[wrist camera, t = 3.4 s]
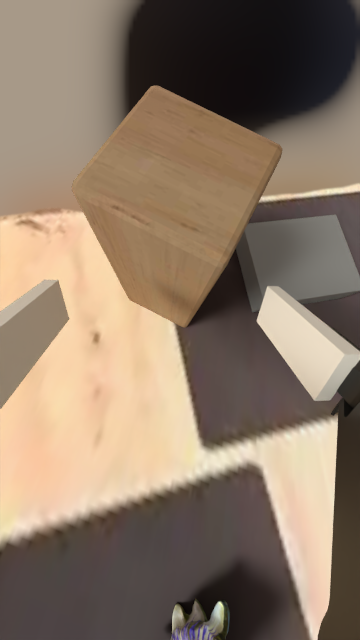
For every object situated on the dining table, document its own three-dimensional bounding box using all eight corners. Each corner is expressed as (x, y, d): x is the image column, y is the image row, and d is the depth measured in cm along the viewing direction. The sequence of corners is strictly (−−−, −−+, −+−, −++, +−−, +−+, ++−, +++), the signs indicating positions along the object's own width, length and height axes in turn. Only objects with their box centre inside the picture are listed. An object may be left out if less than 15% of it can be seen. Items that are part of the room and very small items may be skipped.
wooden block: (158, 248, 33) (152, 78, 13) (212, 275, 32) (288, 144, 13) (127, 299, 30) (64, 184, 11) (185, 329, 30) (227, 266, 11)
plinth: (317, 230, 36) (335, 214, 32) (341, 298, 33) (364, 289, 30) (233, 240, 34) (242, 224, 30) (252, 312, 32) (264, 305, 28)
